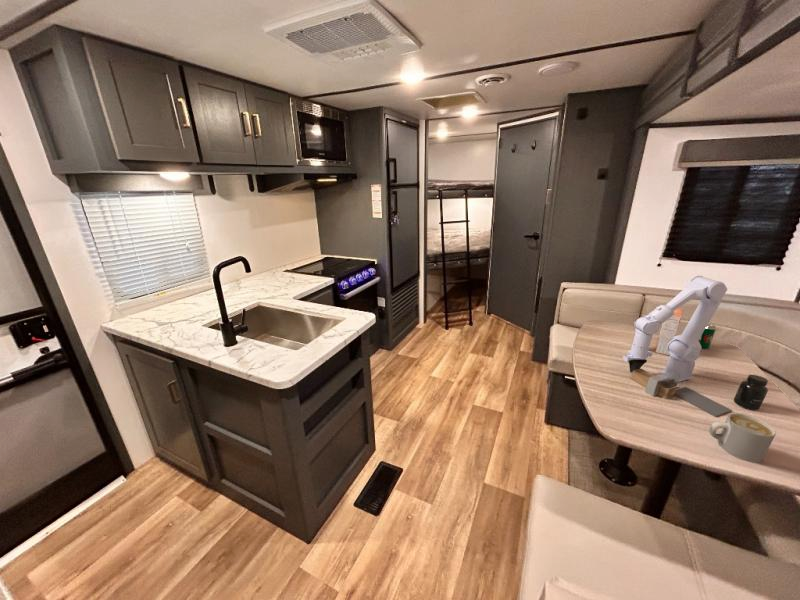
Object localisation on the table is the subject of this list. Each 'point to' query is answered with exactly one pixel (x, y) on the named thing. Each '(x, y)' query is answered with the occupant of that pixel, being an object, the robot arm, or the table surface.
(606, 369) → the table surface
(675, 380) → the housing
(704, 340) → the soda can
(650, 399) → the table surface
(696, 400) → the pad
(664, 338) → the cracker box
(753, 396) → the supplement bottle
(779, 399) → the table surface
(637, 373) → the wooden block
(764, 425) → the coffee mug
